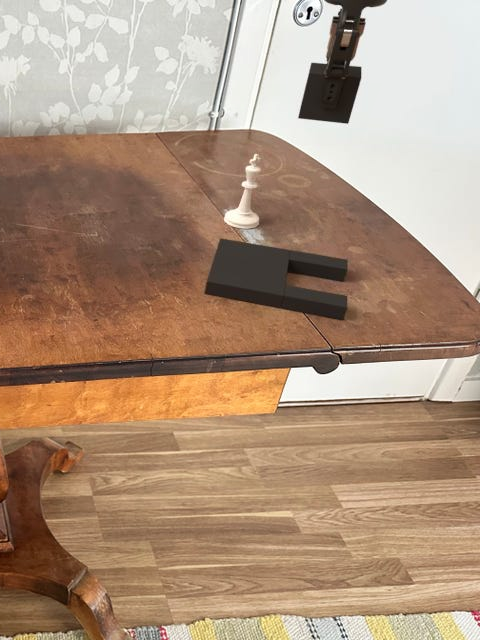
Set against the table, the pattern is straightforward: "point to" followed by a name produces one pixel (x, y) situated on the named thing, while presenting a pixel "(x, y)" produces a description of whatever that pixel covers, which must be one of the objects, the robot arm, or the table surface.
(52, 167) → the table surface
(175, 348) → the table surface
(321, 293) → the base pad
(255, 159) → the chess piece
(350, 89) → the pad piece
